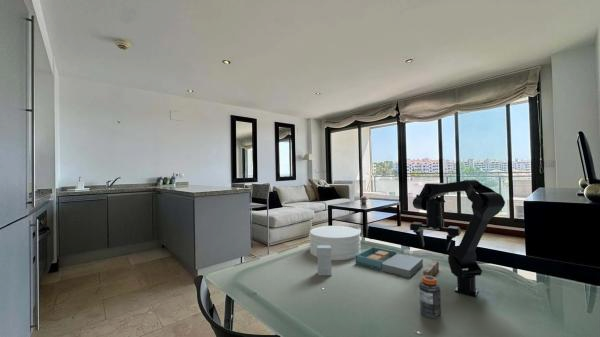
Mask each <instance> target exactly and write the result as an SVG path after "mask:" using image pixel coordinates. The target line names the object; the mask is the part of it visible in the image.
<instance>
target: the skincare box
mask: <svg viewBox="0 0 600 337" xmlns="http://www.w3.org/2000/svg"><path fill="white" fill-rule="evenodd" d="M316 258H317V276H332V274H333V273H332V272H333V271H332V260H331V246H330V245H318V246H317V257H316Z"/></svg>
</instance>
